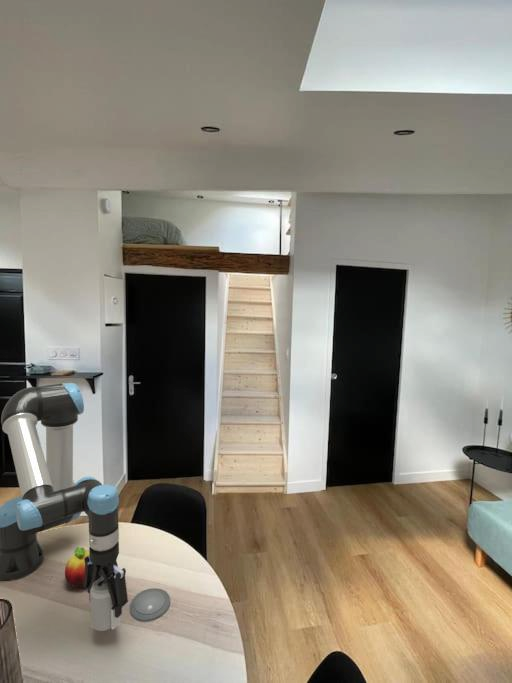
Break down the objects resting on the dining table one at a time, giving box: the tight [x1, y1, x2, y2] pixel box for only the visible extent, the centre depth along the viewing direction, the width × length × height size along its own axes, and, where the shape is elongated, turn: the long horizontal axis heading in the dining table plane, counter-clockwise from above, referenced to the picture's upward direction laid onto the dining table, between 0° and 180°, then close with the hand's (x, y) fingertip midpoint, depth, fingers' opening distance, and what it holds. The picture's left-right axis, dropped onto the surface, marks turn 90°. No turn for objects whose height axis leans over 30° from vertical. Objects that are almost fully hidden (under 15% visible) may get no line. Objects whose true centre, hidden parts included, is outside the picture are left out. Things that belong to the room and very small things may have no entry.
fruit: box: [64, 546, 89, 588], centre depth 126 cm, size 11×11×10 cm
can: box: [89, 575, 113, 632], centre depth 105 cm, size 8×8×12 cm
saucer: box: [129, 587, 171, 622], centre depth 117 cm, size 12×12×1 cm
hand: (105, 619), depth 106 cm, fingers closed on can, 7 cm apart
